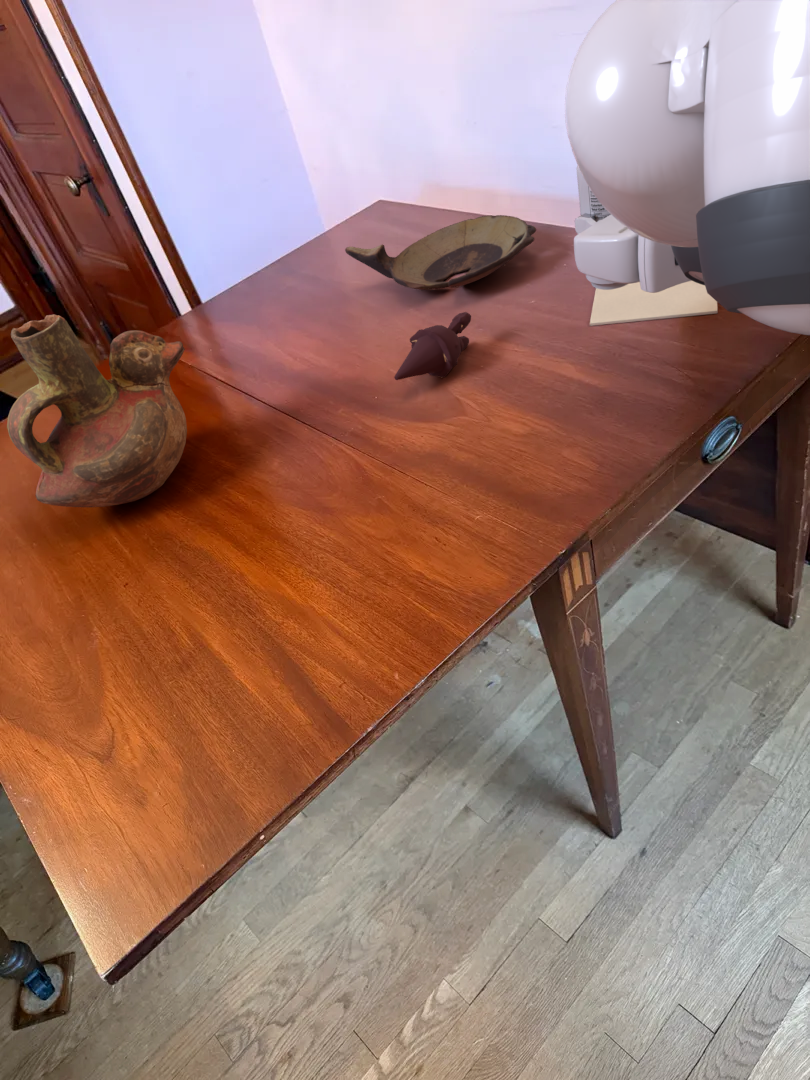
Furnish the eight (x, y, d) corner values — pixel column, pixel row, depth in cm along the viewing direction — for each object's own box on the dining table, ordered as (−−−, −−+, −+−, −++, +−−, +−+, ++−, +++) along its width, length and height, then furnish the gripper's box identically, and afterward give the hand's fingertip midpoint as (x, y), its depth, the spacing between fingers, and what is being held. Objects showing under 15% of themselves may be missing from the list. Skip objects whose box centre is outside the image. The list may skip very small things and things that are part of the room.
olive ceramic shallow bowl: (497, 314, 110) (487, 264, 105) (343, 303, 127) (328, 260, 122) (561, 242, 122) (556, 195, 117) (412, 241, 138) (402, 200, 133)
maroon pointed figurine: (416, 367, 93) (491, 316, 100) (373, 344, 96) (449, 296, 103) (416, 411, 98) (487, 359, 105) (376, 387, 101) (447, 338, 108)
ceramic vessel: (256, 445, 102) (171, 273, 85) (92, 563, 92) (-40, 394, 76) (196, 412, 113) (110, 254, 96) (44, 514, 103) (-80, 357, 87)
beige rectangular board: (715, 269, 103) (715, 266, 103) (717, 313, 96) (717, 310, 95) (597, 283, 109) (597, 280, 109) (589, 326, 101) (589, 323, 101)
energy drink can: (633, 263, 91) (627, 130, 81) (643, 284, 86) (638, 147, 76) (583, 274, 92) (571, 145, 82) (590, 296, 87) (579, 162, 77)
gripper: (774, 153, 76) (661, 144, 85) (639, 239, 69) (534, 218, 79) (769, 215, 80) (662, 200, 90) (641, 301, 74) (541, 275, 83)
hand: (601, 209), depth 84 cm, fingers closed on energy drink can, 6 cm apart
